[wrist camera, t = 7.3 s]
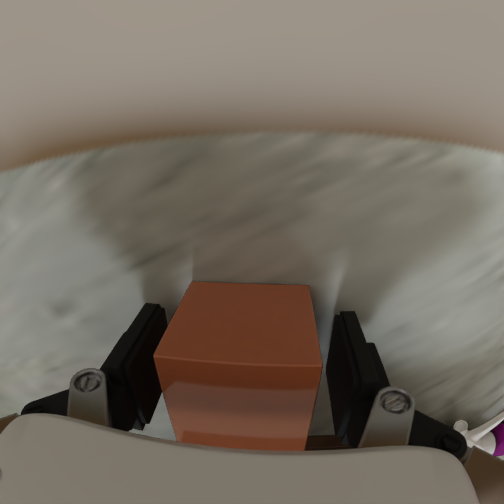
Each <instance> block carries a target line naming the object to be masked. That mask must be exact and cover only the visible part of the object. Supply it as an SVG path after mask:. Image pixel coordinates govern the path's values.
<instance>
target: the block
mask: <svg viewBox="0 0 504 504" xmlns="http://www.w3.org/2000/svg"><path fill="white" fill-rule="evenodd" d="M153 357H154V362H155V366H156V370H157V373H158V377H159V381H160V385H161V389H162V392H163V396H164V399H165V403H166V406H167V410H168V413H169V416H170V420H171V423H172V426H173V429H174V433H175V436H176V439H177V442H184V443H191V444H198V445H206V446H215V447H224V448H236V449H250V450H272V451H304V450H305V446H306V442H307V438H308V434H309V430H310V425H311V421H312V417H313V412H314V407H315V403H316V398H317V393H318V388H319V383H320V378H321V373H322V368H323V364H322V357H321V351H320V345H319V339H318V333H317V327H316V321H315V316H314V310H313V305H312V299H311V294H310V288H309V286H308V285H278V284H246V283H219V282H196V281H192V282H191V283H190V285H189V287H188V289H187V291H186V293H185V294H184V296H183V298H182V300H181V302H180V304H179V306H178V308H177V310H176V312H175V314H174V315H173V317H172V319H171V321H170V323H169V325H168V327H167V329H166V331H165V333H164V335H163V337H162V339H161V341H160V343H159V345H158V347H157V349H156V351H155V353H154V355H153Z"/></svg>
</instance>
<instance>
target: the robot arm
mask: <svg viewBox="0 0 504 504" xmlns="http://www.w3.org/2000/svg"><path fill="white" fill-rule="evenodd" d="M167 327H168V325H167V319H166V313H165V309H164V308H161V306H160V304H152V303H146V304H145V305H144V306H143V308H142V309H141V311H140V312H139V314H138V315H137V317H136V318H135V319H134V321H133V322H132V324H131V325H130V327H129V328H128V330H127V331H126V332H124V334H123V335H122V336H121V338H120V339H119V341H118V342H117V344H116V345H115V347H114V348H113V350H112V351H111V353H110V354H109V356H108V357H107V359H106V360H105V362H104V364H103V365H102V367H101V368H100V370H99V369H95V368H88V369H83V370H81V371H79V372H77V373H76V374H75V375H74V376H73V377H72V379H71V381H70V388H69V389H68V390H65V391H62V392H59V393H56V394H53V395H50V396H47V397H44V398H42V399H39V400H36V401H33V402H30V403H28V404H27V405H26V406H25V407H24V408H23V410H22V412H21V415H18V414H17V413H14V414H12V415H9V416H6V417H3V418H0V504H504V460H502V459H500V458H498V457H496V456H494V455H492V454H490V453H488V452H486V451H484V450H482V449H480V448H478V447H476V446H474V445H473V446H472V448H471V447H469V446H467V441H466V439H465V437H464V436H463V435H462V434H461V433H460V432H458V431H457V430H455V429H453V428H451V427H449V426H446V425H444V424H442V423H440V422H438V421H436V420H434V419H432V418H430V417H428V416H426V415H424V414H422V413H421V412H419V411H417V410H415V399H414V397H413V395H412V394H411V393H410V392H409V391H407V390H406V389H403V388H401V387H395V386H390V384H389V381H388V378H387V375H386V373H385V370H384V367H383V364H382V362H381V359H380V357H379V354H378V351H377V349H376V346H375V344H374V343H366V340H365V337H364V334H363V332H362V329H361V326H360V323H359V321H358V318H357V315H356V313H355V311H341V312H340V315H335V318H334V325H333V331H332V337H331V342H330V348H329V354H328V359H327V364H326V376H327V382H328V388H329V395H330V402H331V409H332V416H333V423H334V430H335V436H336V437H340V440H341V444H348V445H349V446H351V447H352V448H354V449H342V450H318V451H272V450H250V449H236V448H224V447H215V446H206V445H198V444H191V443H184V442H177V441H171V440H165V439H160V438H155V437H149V436H144V435H140V434H135V433H131V432H129V430H132V429H138V430H142V431H143V429H144V426H145V424H149V423H150V421H151V419H152V416H153V413H154V411H155V408H156V406H157V403H158V401H159V398H160V396H161V393H162V389H161V385H160V381H159V377H158V373H157V370H156V366H155V362H154V357H153V355H154V353H155V351H156V349H157V347H158V345H159V343H160V341H161V339H162V337H163V335H164V333H165V331H166V329H167Z"/></svg>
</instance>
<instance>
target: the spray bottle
mask: <svg viewBox="0 0 504 504" xmlns="http://www.w3.org/2000/svg"><path fill="white" fill-rule="evenodd" d="M503 420H504V412H502V413H500V414H499V415H497V416H496V417H494V418H493V419H491V420H490V421H488V422H486V423H485V424H483V425H481V426H479V427H477V428H475V429H473V430H470V431H469V430H467V428H468V424H467V422H466V421H464V420H459V421H456V423H455V425H454V427H453V429H455V430H457V431H458V432H460V433H461V434H462V435H463V436H464V437H465V439H466V441H467V446H469V447H471V448H472V446H473V445H474V446H476V447H478V448H480V449H482V450H484V451H486V452H488V453H490V454H492V455H494V456H501V455H504V424H502V423H500V422H502V421H503Z"/></svg>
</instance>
